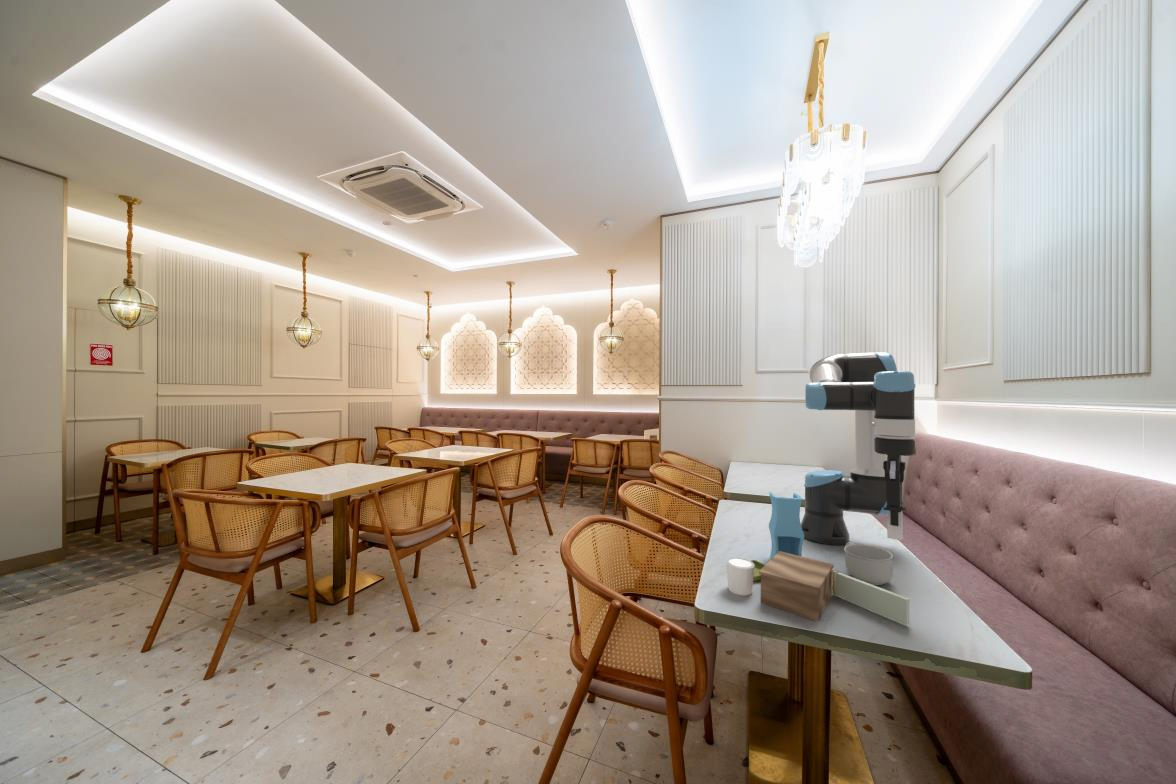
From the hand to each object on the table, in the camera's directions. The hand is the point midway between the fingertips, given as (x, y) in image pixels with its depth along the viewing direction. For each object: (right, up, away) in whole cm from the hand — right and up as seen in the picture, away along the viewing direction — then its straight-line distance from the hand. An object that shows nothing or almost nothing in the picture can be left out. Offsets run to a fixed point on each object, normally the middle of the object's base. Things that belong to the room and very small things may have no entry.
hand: (894, 538), depth 92 cm
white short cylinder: (-33, -17, +9) cm, 38 cm away
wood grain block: (-20, -16, +4) cm, 27 cm away
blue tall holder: (-13, -17, +25) cm, 33 cm away
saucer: (-25, -17, +18) cm, 35 cm away
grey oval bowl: (+4, -17, +16) cm, 24 cm away
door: (-7, -16, -1) cm, 17 cm away
